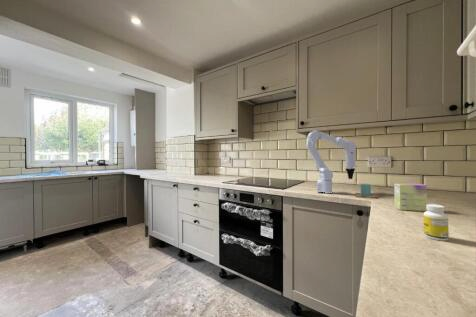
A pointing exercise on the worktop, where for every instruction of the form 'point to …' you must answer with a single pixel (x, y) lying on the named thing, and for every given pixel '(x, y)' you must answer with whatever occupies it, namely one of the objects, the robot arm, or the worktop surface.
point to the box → (410, 196)
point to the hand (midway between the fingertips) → (350, 178)
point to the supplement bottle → (436, 222)
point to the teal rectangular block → (366, 189)
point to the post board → (366, 196)
